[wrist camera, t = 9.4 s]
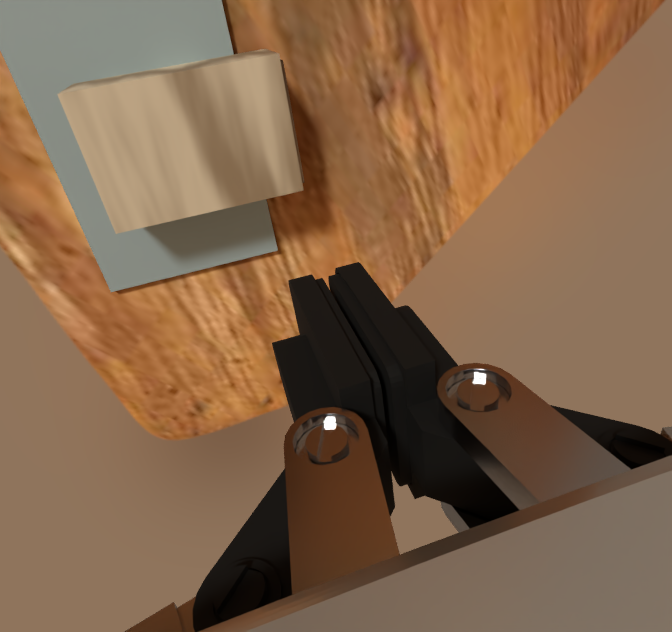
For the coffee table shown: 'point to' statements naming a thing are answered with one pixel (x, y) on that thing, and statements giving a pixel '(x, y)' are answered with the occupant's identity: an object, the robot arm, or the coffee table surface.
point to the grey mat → (112, 60)
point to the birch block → (187, 137)
